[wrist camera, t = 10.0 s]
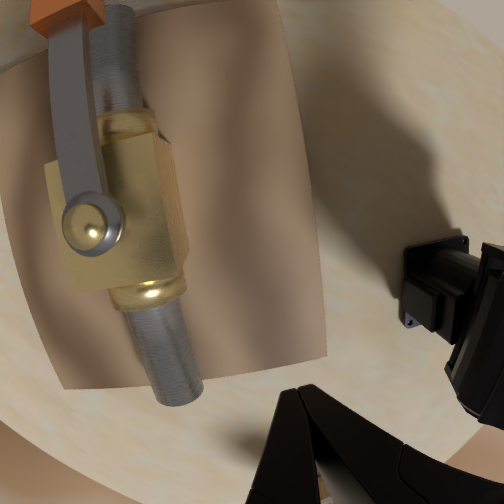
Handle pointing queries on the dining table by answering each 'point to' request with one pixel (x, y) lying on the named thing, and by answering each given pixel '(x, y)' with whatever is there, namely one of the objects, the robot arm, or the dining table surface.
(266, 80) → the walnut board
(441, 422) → the dining table surface
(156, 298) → the valve body
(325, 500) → the sprinkles bottle
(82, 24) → the valve lever
